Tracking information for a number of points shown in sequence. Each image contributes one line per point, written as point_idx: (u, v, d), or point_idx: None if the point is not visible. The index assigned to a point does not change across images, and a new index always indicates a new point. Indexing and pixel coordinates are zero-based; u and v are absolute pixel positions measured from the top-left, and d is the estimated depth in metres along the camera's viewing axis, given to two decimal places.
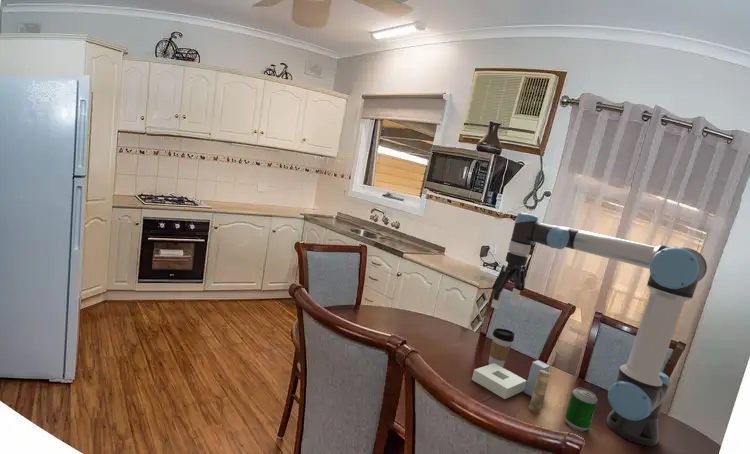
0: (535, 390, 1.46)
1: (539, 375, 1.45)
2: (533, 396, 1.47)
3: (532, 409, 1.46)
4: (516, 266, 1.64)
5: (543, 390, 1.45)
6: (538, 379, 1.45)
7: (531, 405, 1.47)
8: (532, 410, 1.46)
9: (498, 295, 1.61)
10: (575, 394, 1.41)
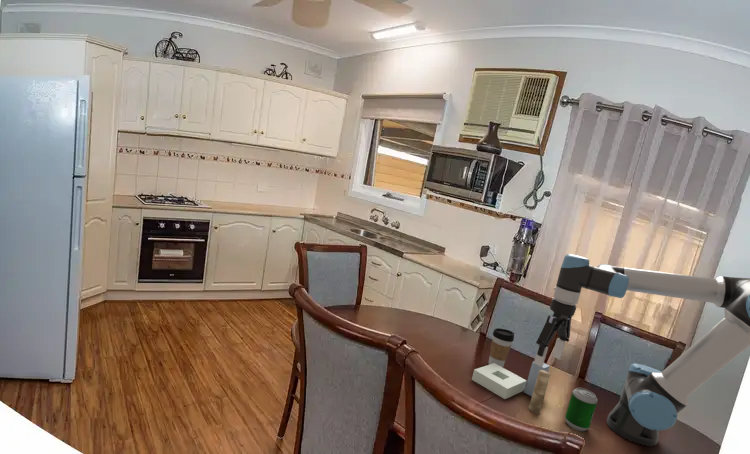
0: (535, 390, 1.46)
1: (539, 375, 1.45)
2: (533, 396, 1.47)
3: (532, 409, 1.46)
4: (563, 316, 1.42)
5: (543, 390, 1.45)
6: (538, 379, 1.45)
7: (531, 405, 1.47)
8: (532, 410, 1.46)
9: (543, 351, 1.38)
10: (575, 394, 1.41)
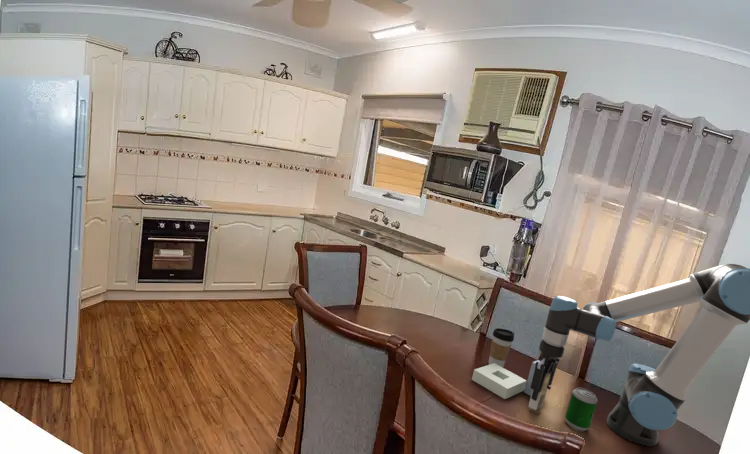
0: None
1: None
2: None
3: (532, 409, 1.46)
4: (552, 357, 1.44)
5: (543, 390, 1.45)
6: None
7: None
8: (532, 410, 1.46)
9: (537, 395, 1.44)
10: (575, 394, 1.41)
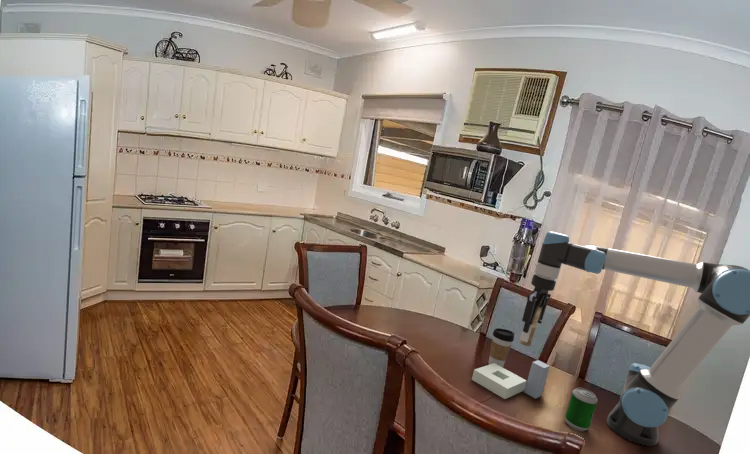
0: None
1: None
2: None
3: (523, 342, 1.51)
4: (543, 290, 1.48)
5: (534, 323, 1.49)
6: None
7: None
8: (523, 343, 1.51)
9: (528, 327, 1.49)
10: (575, 394, 1.41)
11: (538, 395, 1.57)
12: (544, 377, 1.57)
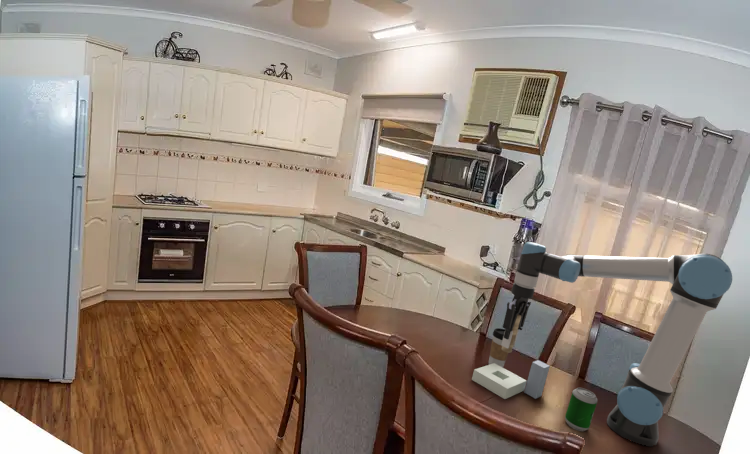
0: None
1: None
2: None
3: (504, 348, 1.58)
4: (522, 298, 1.55)
5: (514, 330, 1.56)
6: None
7: None
8: (504, 349, 1.58)
9: (509, 334, 1.55)
10: (575, 394, 1.41)
11: (538, 395, 1.57)
12: (544, 377, 1.57)
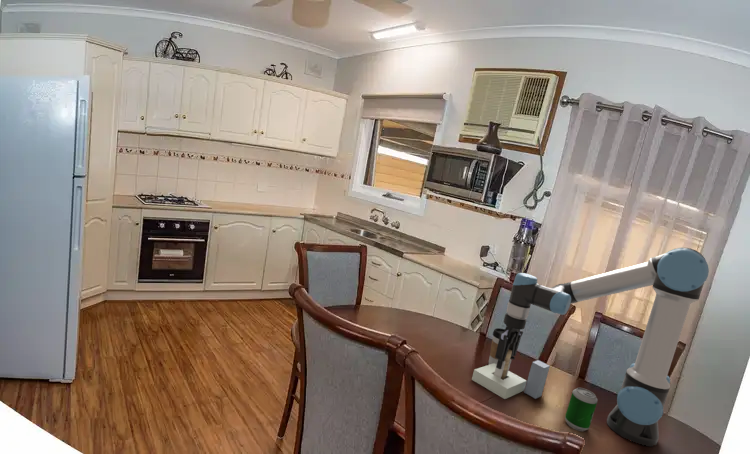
0: None
1: None
2: None
3: None
4: (514, 329, 1.56)
5: (505, 365, 1.58)
6: None
7: None
8: None
9: (501, 364, 1.57)
10: (575, 394, 1.41)
11: (538, 395, 1.57)
12: (544, 377, 1.57)
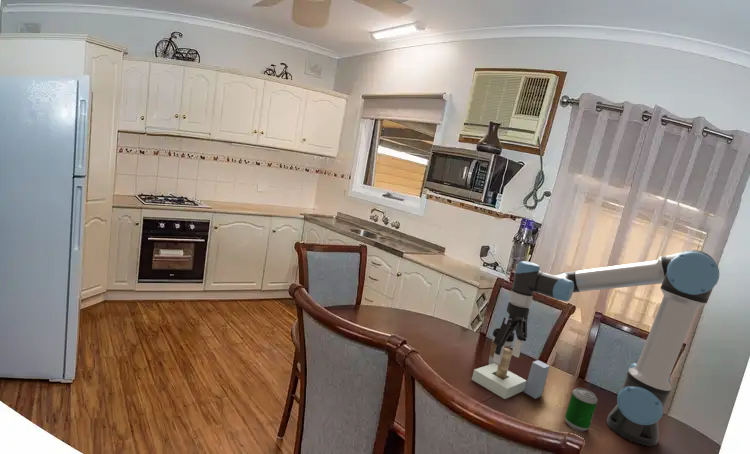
0: (499, 366, 1.59)
1: None
2: (497, 372, 1.60)
3: None
4: (518, 317, 1.56)
5: (506, 366, 1.58)
6: None
7: None
8: None
9: (500, 349, 1.53)
10: (575, 394, 1.41)
11: (538, 395, 1.57)
12: (544, 377, 1.57)
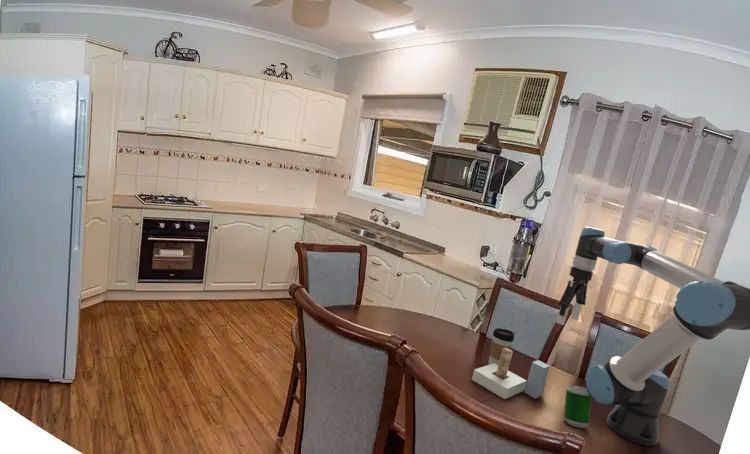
0: (499, 366, 1.59)
1: (502, 352, 1.59)
2: (497, 372, 1.60)
3: None
4: (581, 281, 1.61)
5: (506, 366, 1.58)
6: (501, 356, 1.59)
7: None
8: None
9: (564, 311, 1.58)
10: (569, 389, 1.44)
11: (538, 395, 1.57)
12: (544, 377, 1.57)
